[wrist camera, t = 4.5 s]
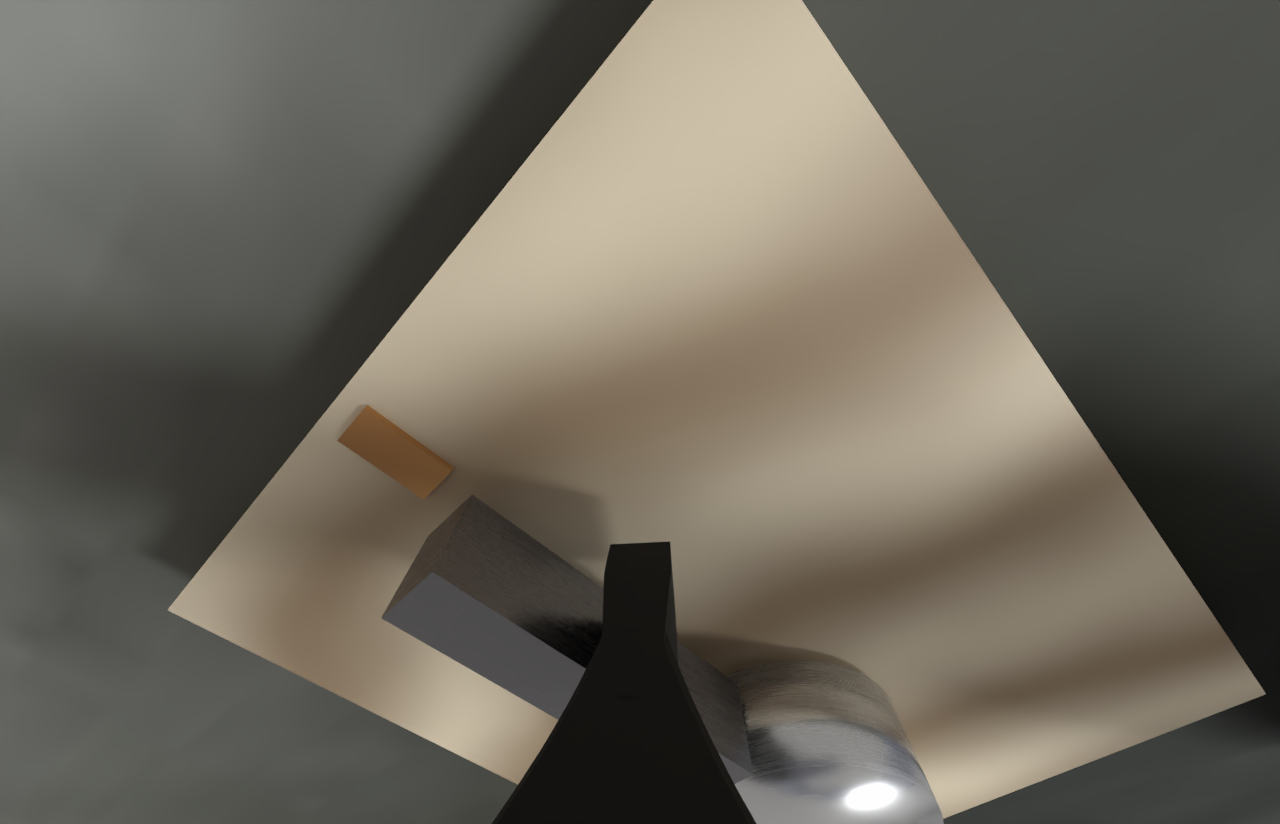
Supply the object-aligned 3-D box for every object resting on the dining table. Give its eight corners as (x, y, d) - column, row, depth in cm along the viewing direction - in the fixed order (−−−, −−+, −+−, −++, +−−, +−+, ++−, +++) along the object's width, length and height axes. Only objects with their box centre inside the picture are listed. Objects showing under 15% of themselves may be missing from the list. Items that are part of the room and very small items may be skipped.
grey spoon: (937, 733, 14) (991, 840, 12) (764, 810, 16) (784, 914, 13) (551, 412, 9) (523, 490, 7) (378, 577, 11) (314, 677, 9)
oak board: (1209, 644, 14) (1385, 797, 11) (735, 847, 20) (754, 989, 17) (718, -56, 7) (781, -239, 4) (214, 565, 13) (65, 707, 10)
